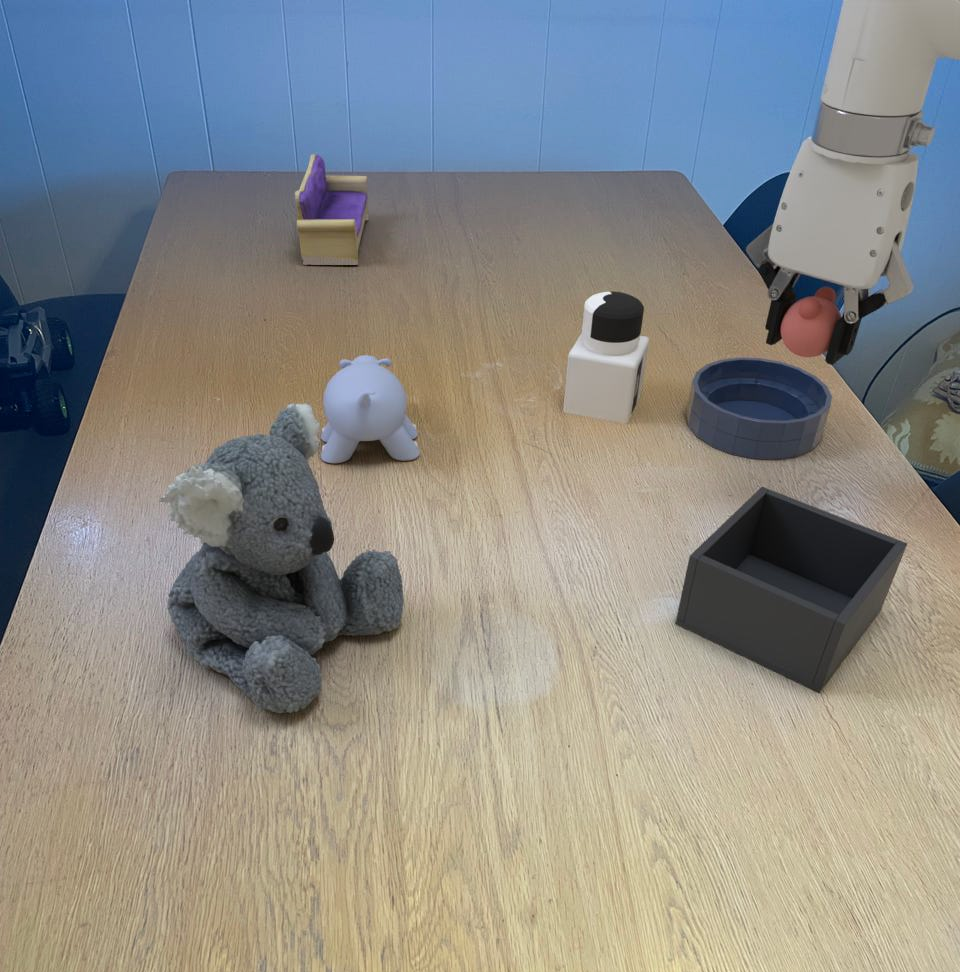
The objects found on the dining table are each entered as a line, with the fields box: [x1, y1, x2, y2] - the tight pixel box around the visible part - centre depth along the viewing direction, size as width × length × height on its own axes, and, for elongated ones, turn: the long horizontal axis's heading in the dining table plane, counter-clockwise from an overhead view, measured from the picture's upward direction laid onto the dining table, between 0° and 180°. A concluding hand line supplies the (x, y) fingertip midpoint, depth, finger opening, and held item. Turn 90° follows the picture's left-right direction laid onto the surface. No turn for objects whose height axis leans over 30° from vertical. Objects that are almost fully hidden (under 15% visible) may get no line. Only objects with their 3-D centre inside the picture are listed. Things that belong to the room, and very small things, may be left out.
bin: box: [675, 486, 908, 693], centre depth 84 cm, size 14×14×8 cm
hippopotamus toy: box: [320, 354, 421, 464], centre depth 104 cm, size 11×15×10 cm
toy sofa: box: [294, 154, 369, 261], centre depth 147 cm, size 21×9×10 cm, turn 0°
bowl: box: [685, 356, 833, 461], centre depth 109 cm, size 15×15×5 cm
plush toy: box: [781, 286, 842, 358], centre depth 86 cm, size 5×5×6 cm
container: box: [562, 291, 650, 425], centre depth 110 cm, size 8×8×13 cm
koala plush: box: [158, 401, 405, 714], centre depth 77 cm, size 17×18×20 cm
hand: (805, 347), depth 87 cm, fingers closed on plush toy, 5 cm apart
